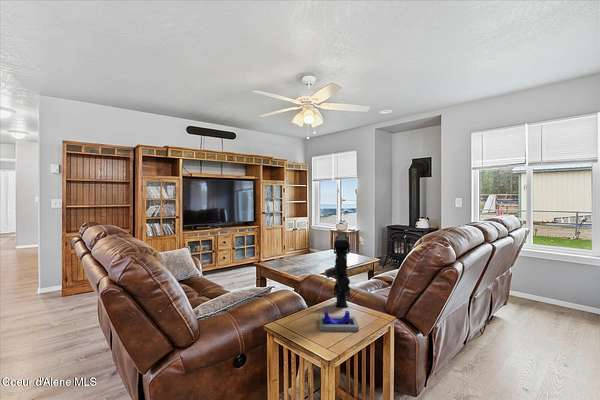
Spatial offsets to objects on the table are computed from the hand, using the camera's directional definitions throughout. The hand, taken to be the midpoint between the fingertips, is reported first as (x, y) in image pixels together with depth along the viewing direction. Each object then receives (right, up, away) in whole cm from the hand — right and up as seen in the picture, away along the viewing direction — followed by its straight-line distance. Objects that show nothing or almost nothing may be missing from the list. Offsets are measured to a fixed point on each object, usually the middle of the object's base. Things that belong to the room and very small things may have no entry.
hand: (341, 292), depth 154 cm
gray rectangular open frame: (-3, -12, -12) cm, 17 cm away
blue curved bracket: (-4, -13, -10) cm, 17 cm away
